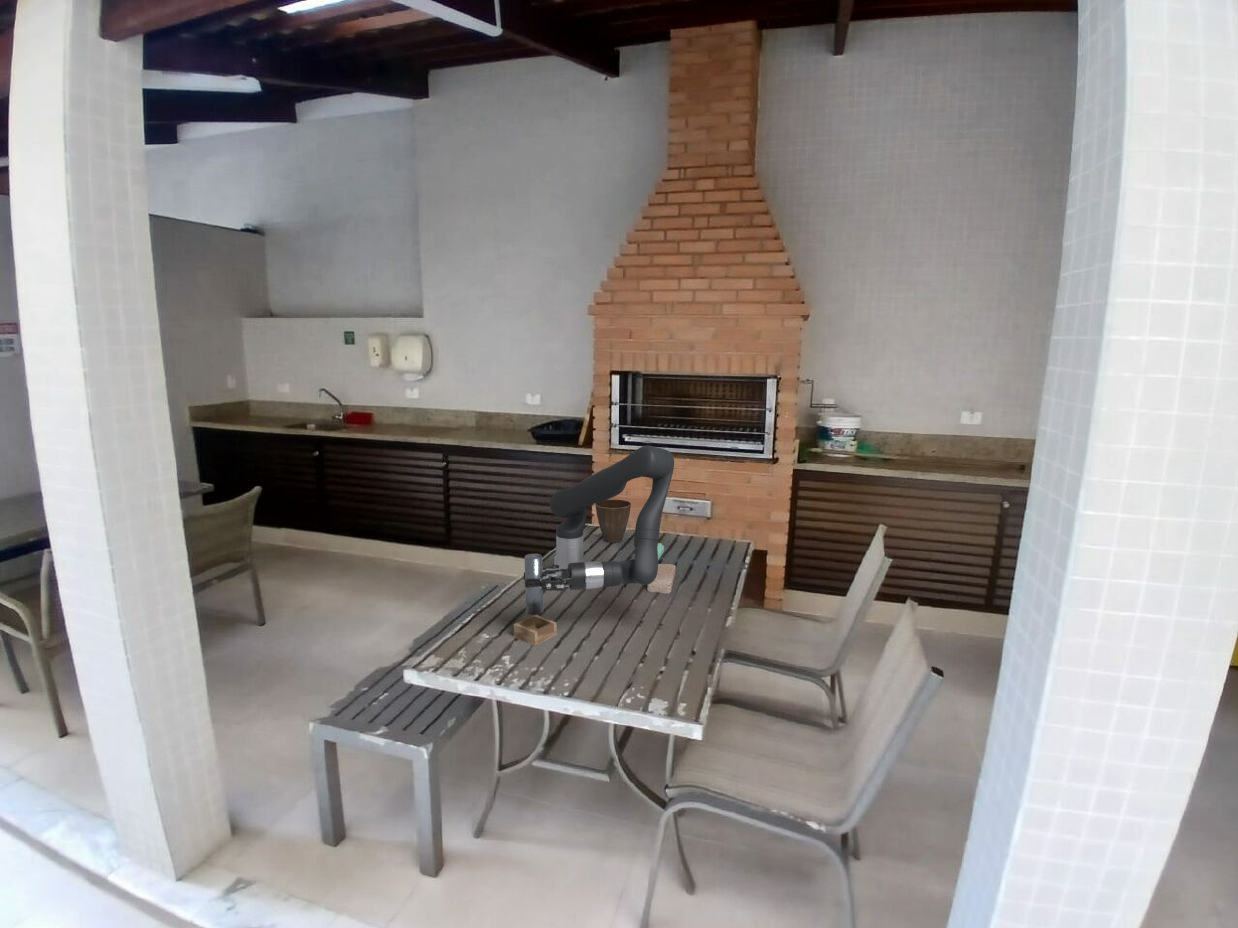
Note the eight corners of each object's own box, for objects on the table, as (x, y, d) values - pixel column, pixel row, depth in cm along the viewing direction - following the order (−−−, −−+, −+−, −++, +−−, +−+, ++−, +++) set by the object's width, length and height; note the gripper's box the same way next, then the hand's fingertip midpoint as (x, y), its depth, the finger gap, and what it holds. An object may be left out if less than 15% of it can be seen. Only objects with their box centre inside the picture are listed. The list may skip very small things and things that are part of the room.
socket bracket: (512, 639, 176) (512, 624, 175) (535, 628, 183) (535, 613, 182) (534, 649, 171) (534, 633, 170) (558, 637, 178) (557, 622, 177)
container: (655, 537, 250) (640, 556, 227) (668, 544, 249) (655, 564, 226) (649, 550, 252) (634, 570, 228) (662, 557, 251) (649, 578, 227)
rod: (522, 611, 175) (520, 557, 172) (535, 606, 179) (533, 552, 176) (534, 616, 172) (533, 560, 169) (547, 610, 176) (545, 556, 173)
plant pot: (591, 544, 260) (591, 507, 257) (599, 534, 275) (599, 498, 272) (627, 546, 258) (628, 508, 255) (632, 536, 272) (633, 500, 269)
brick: (671, 594, 210) (671, 580, 209) (646, 592, 211) (646, 578, 211) (675, 576, 226) (676, 564, 225) (652, 575, 227) (652, 562, 227)
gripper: (581, 554, 183) (522, 558, 179) (589, 571, 169) (525, 576, 166) (582, 578, 184) (523, 582, 181) (589, 598, 170) (526, 603, 167)
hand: (524, 579), depth 173 cm, fingers closed on rod, 4 cm apart
